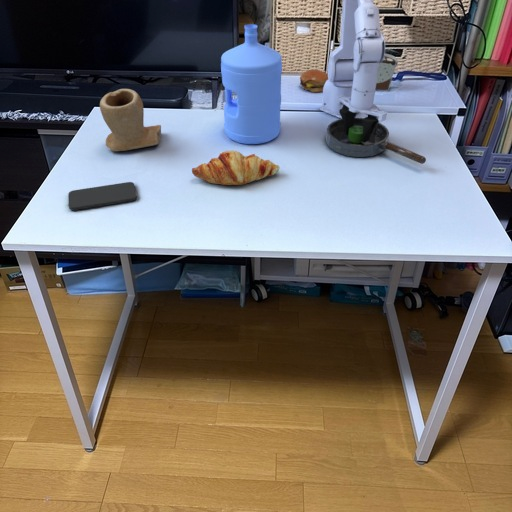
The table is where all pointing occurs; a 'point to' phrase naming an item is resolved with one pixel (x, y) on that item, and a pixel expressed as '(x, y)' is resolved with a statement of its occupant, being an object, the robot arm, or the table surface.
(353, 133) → the green short cylinder
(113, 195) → the phone
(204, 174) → the croissant
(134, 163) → the table surface
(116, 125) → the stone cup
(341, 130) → the pan
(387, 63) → the food container
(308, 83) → the burger
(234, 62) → the water jug
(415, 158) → the pan handle
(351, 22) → the robot arm
